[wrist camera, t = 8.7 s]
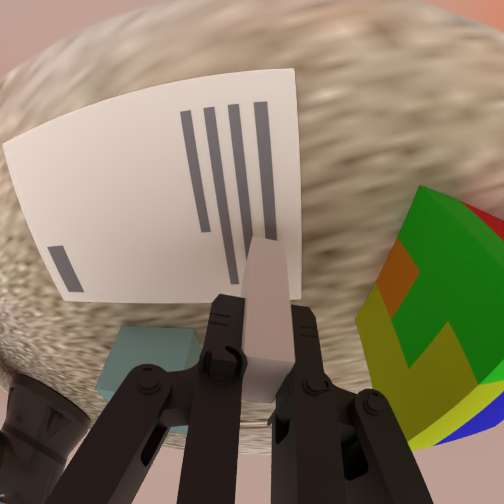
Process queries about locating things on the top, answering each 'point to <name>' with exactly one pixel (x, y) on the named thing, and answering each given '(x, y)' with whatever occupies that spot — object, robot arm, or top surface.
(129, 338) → the teal cube
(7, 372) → the top surface
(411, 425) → the puzzle toy
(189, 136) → the letter
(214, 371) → the robot arm
